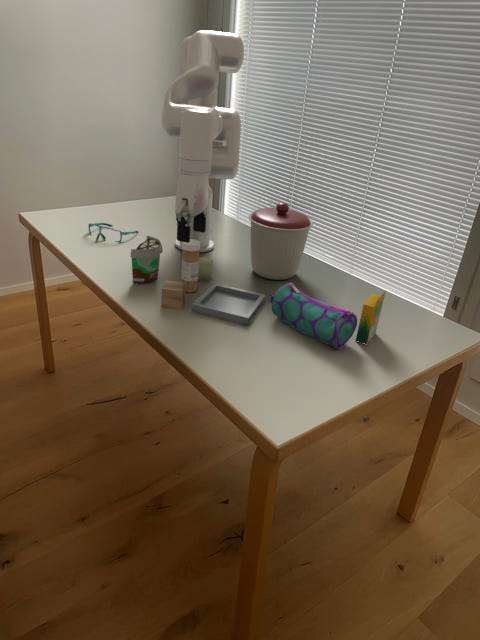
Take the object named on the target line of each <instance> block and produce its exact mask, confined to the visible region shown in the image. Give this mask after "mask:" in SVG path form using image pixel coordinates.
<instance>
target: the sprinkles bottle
mask: <svg viewBox="0 0 480 640" xmlns="http://www.w3.org/2000/svg"><path fill="white" fill-rule="evenodd" d="M199 250H200V242H199V241H198V240H195V239H190V242H189V243H186V242H182V250H181V251H182V257H181V272H180V273H181V276H180V277H181V281H180V282H183V283H186V288H185V293H195V292H197V291H198V290H199V287H198V281H199V280H198V271H199V257H200V252H199Z"/></svg>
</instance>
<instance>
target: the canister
mask: <svg viewBox="0 0 480 640" xmlns="http://www.w3.org/2000/svg"><path fill="white" fill-rule="evenodd" d="M248 219H249V221H250V259H251V260H250V262H251V268H252V270H253V272H254V273H255V274H257V276H260V277H261V278H265V279H269V280H274V281H275V280H276V281H283V280H288V279H291V278H292V277H294V276H295V275H296V273H297V271H298V270H299V267H300V264H301V261H302V257H303V254H304V251H305V248H306V244H307V239H308V238H309V237H308V236H309V233H310V229H311V228H312V227H313V225H314V222H313V220H312V219H310V218H309V217H308V216H307V215H305V214H304V213H302V212H299V211H296V210H295V209H294V210H293V209H290V207H289V205H288V204H287V203H286V202H278V203H277V204H276V206H275V207H264V208H260V209H257V210H255V211H253V212H251V213H249V215H248Z"/></svg>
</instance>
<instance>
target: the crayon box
mask: <svg viewBox="0 0 480 640" xmlns="http://www.w3.org/2000/svg"><path fill="white" fill-rule="evenodd" d="M386 291H387V289H385V291H384V292H382V294H381V295H379V294H376V293H372V294H371V295H370V297H369V298H367V300H366V301H365V302H364V304H363V306H362V310H361V314H360V319H359V323H358V327H357V333H356V337H355V342H356V341H359V342H361V343H360V344H362V343H365V344H367V345H369V343H370V341H371V340H372V339H373V338H374V336H375V335H374V334H376V333H377V329H378V325H379V320H380V316H381V312H382V310H383V309H382V307H383V303H384V300H385V296H386ZM371 338H372V339H371ZM359 342H358V343H359ZM368 342H369V343H368ZM365 344H364V345H365Z"/></svg>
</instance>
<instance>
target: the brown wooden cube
mask: <svg viewBox="0 0 480 640" xmlns="http://www.w3.org/2000/svg"><path fill="white" fill-rule="evenodd" d="M185 288H186V283H183V282H181V281H175V280H174V281H172V280H165V282H164V284H163V285H162V287H161V297H160V298H161V303H160V307H161V308H167V309H176V310H182V309H183V307H184V304H185V302H186V292H185Z"/></svg>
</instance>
